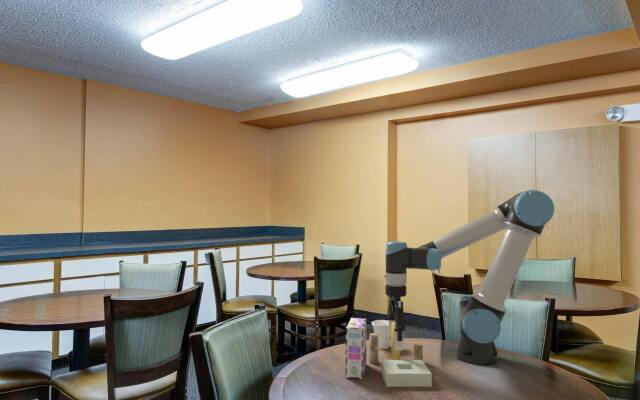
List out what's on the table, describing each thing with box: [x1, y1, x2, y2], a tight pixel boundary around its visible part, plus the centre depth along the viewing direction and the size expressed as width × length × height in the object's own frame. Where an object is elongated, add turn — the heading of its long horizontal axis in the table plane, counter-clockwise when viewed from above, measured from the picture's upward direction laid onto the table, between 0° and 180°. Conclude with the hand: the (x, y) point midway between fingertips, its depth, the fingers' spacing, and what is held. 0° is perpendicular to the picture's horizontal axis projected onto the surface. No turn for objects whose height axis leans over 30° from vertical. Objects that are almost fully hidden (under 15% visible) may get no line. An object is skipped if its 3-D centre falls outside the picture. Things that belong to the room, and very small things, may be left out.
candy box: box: [345, 317, 367, 380], centre depth 141 cm, size 14×6×16 cm, turn 168°
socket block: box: [380, 359, 433, 388], centre depth 134 cm, size 14×12×4 cm
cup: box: [371, 319, 390, 350], centre depth 166 cm, size 9×9×10 cm
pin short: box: [413, 343, 424, 362], centre depth 150 cm, size 3×3×6 cm
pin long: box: [391, 322, 402, 360], centre depth 150 cm, size 3×3×14 cm
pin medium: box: [368, 332, 379, 365], centre depth 149 cm, size 3×3×10 cm
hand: (395, 343), depth 150 cm, fingers open, 13 cm apart
